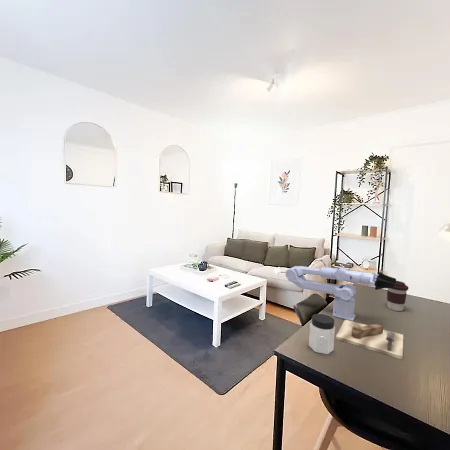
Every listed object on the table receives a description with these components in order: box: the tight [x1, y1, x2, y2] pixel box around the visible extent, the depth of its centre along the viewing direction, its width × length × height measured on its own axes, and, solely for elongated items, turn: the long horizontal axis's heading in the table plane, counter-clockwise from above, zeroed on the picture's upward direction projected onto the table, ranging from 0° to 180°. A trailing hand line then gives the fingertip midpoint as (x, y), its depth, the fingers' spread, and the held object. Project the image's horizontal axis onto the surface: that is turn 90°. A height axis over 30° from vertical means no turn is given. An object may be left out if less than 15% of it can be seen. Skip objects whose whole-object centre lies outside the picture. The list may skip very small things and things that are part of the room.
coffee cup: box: [386, 280, 409, 312], centre depth 142 cm, size 10×10×15 cm
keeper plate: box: [335, 319, 404, 360], centre depth 109 cm, size 23×20×6 cm
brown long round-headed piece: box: [352, 323, 384, 338], centre depth 110 cm, size 15×4×3 cm, turn 110°
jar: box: [308, 313, 336, 355], centre depth 100 cm, size 9×8×12 cm
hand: (395, 283), depth 117 cm, fingers open, 7 cm apart
